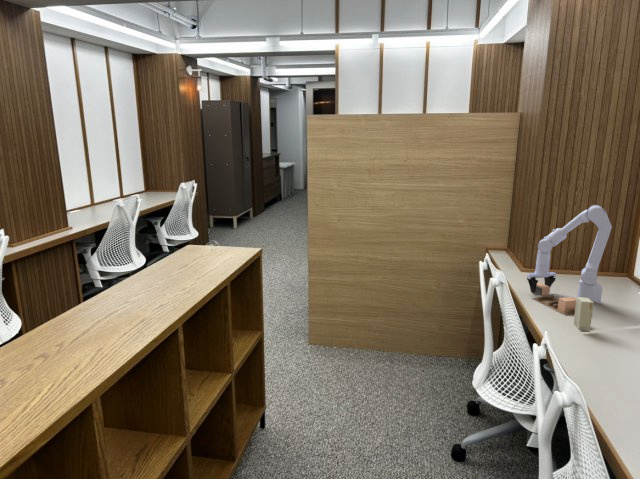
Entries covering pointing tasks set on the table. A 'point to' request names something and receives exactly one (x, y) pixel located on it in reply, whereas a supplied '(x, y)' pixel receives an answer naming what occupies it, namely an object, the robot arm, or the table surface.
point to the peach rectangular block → (542, 289)
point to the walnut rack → (553, 303)
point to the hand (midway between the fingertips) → (539, 292)
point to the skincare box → (583, 314)
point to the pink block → (566, 304)
